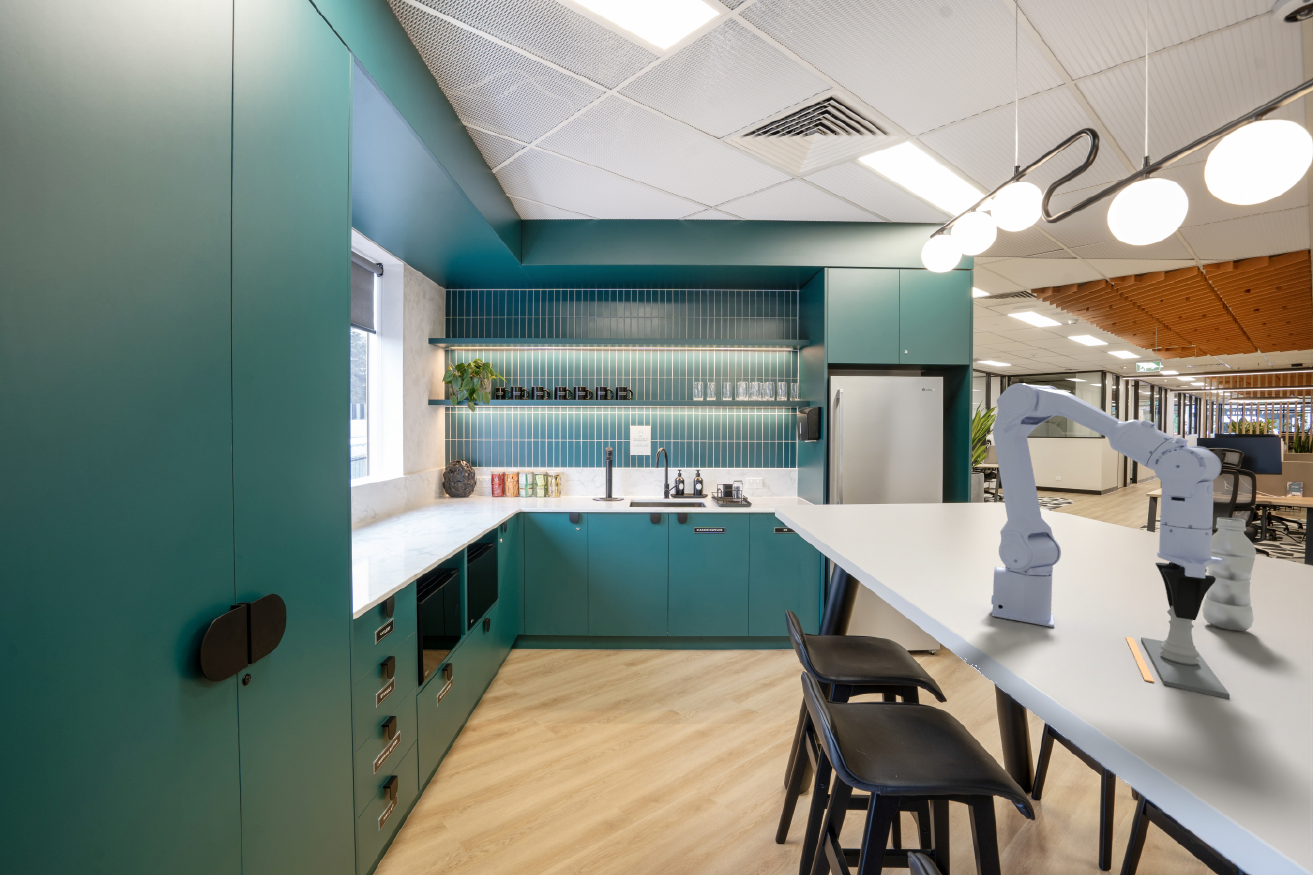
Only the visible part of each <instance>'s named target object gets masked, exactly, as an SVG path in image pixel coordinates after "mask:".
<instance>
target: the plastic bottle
mask: <svg viewBox="0 0 1313 875" xmlns="http://www.w3.org/2000/svg"><path fill="white" fill-rule="evenodd" d="M1215 528H1216V529H1217V531H1216V532H1215V533H1214V534H1212V550H1211V557H1218V558H1221V559H1222V560H1223V563H1222V564H1215V563H1214V564H1211V565H1209V566H1208V568H1207V572H1208V574H1207V575H1209V576H1214V577H1215V578H1216V580H1215V582H1214V584H1213V585H1212V586H1211V587H1210V588H1209V589H1208V591H1207V592H1206V594H1205V597H1206V598H1205V599H1204V602H1203V603H1202V604H1203V606H1202V616H1203V618H1204V620H1205V621H1206V622H1207V623H1208V624H1209V625H1211V626H1214V627H1217V628H1221V629H1224V630H1230V631H1242V632H1243V631H1248V630H1249V629H1251V628H1252V627H1253V623H1254V612H1253V611H1254V610H1253V607H1252V603H1251V602H1252V601H1251V590H1250V588H1251V582H1250V581H1251V580H1252V579H1251V578H1252V572H1253V567H1254V563H1255V560H1256V555H1257V550H1256V547H1255V544H1254V543H1252V541H1251V540H1250V538H1248V537H1247V535H1245V533H1244V532H1245V531H1247V528H1246V520H1245V519H1240V518H1232V517H1217V518H1216V525H1215Z"/></svg>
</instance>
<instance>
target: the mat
mask: <svg viewBox="0 0 1313 875" xmlns="http://www.w3.org/2000/svg"><path fill="white" fill-rule="evenodd" d="M1140 642H1141V644H1142V646H1143V647H1144V649H1145V651H1146V653H1147V655H1148V657H1149V659H1150V661H1151V663H1152V665H1153V667H1154V669H1155V670H1156V673H1157V675H1158V676H1159V678H1160V680H1161V681H1160V682H1162V684H1163V686H1166V687H1167V686H1168V687H1171V688H1177V689H1181V690H1186V691H1191V692H1197V693H1201V694H1206V695H1211V696H1216V697H1219V696H1220V697H1221V698H1225V699H1230V695H1231V694H1230V692H1229V691H1228V690H1227V688H1226V687H1225V686H1224V684H1223V683H1222V682H1221V681H1220V679H1219V678H1218V676H1216V673H1215V672H1214V671H1213V670H1212V669H1211V668H1210V666H1209V664H1208V663H1207V662H1206V661H1205V658H1204V657H1202V655H1201V654H1200V653H1199V657H1197V659H1198V660H1199V663H1198V664H1196V665H1184V664H1179V663H1175V662H1172V661H1169V660H1167V659H1165V658H1163V657H1162V656H1161V654H1160V651H1162V649H1161V645H1162V643H1164V642H1165V640H1164V641H1163V640H1159V639H1153V638H1149V637H1147V638H1146V637H1143V636H1142V637H1140ZM1220 697H1219V698H1220Z"/></svg>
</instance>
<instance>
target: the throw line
mask: <svg viewBox="0 0 1313 875" xmlns="http://www.w3.org/2000/svg"><path fill="white" fill-rule="evenodd" d="M1125 640H1126V641H1127V642H1126V643H1127V644H1128V647H1129V649H1130V651H1131V654H1132V656H1133V658H1134V660H1135V663H1136V665H1137V667H1138V669H1139V671H1140V673H1141V674H1140V675H1141V676H1142V678H1143V680H1144V681H1145V682H1148V683H1155V680H1154V678H1153V676H1152V673H1151V671H1150V670H1149V667H1148V666H1147V664H1146V662H1145V660H1144V658H1143V657H1144V656H1143V655H1142V653H1141V651H1140V648H1139V647H1138V645H1137V643H1136V640H1135V639H1134V638H1133V637H1128V636H1125Z"/></svg>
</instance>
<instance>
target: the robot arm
mask: <svg viewBox="0 0 1313 875" xmlns="http://www.w3.org/2000/svg"><path fill="white" fill-rule="evenodd" d="M996 404H997V413H996V416H995V420H994V423H993V426H992V436H993V442H994V449H995V454H996V458H997V459H996V460H997V464H998V465H997V466H998V471H999V472H998V473H999V476H1000V483H1001V489H1002V494H1003V499H1004V506H1005V512H1006V517H1007V521H1006V522H1005V524H1004V525H1003V526H1002V528H1001V530H1000V544H999V547H998V556H999V559H1000V561H1001V562H1002V563H1003V565H1004V566H1005V567H1003V566H1002V567H1001V566H995V567H994V568H993V569H994V570H993V571H994V572H993V588H992V589H993V590H992V591H993V592H992V595H991V602H990V603H991V605H992V614H991V615H992V617H996V618H999V619H1006V620H1012V621H1019V622H1022V623H1023V622H1024V623H1028V624H1034V625H1041V626H1045V627H1052V628H1053V627H1055V621H1054V620H1055V619H1054V613H1052V602H1053V601H1052V597H1053V571H1054V566H1055V565H1056V564H1058V562H1060V559H1061V556H1062V550H1061V547H1060V545H1059V543H1058V541H1057V540H1056V539H1055V537H1054V535H1053V531H1052V527H1051V526H1050V525H1049V524H1048V523H1047V522H1046V521H1045V520H1044V519H1043V517H1042V512H1041V508H1040V507H1041V506H1040V501H1039V496H1038V490H1037V485H1036V479H1035V474H1034V469H1033V463H1032V457H1031V452H1030V447H1029V442H1028V437H1029V435H1030V434H1031V433H1033V431H1034V430H1035V429H1036V428H1037V427H1038V426H1039V425H1042V424H1043V423H1046V422H1047V421H1049V420H1050V419H1052V418H1053V417H1055V416H1057V417H1058V416H1060V417H1064V418H1066V419H1068V420H1070V421H1072V422H1075V423H1076V424H1079V425H1081V426H1082V427H1085V428H1087V429H1089V430H1091V431H1093V432H1096V434H1097V433H1098V434H1099V435H1102V436H1104V437H1106V438H1107V439H1108V441H1109V445H1110V448H1111V449H1112V450H1113V451H1116V452H1117V453H1120V454H1122V455H1123V456H1125V457H1127V458H1128V459H1131V460H1133V461H1134V462H1136V463H1139V464H1140V465H1141V466H1144V467H1146V468H1148V469H1150V470H1153V471H1154V473H1155V476H1156V477H1157V478H1158V479H1159V480H1160V481H1161V494H1160V517H1159V518H1160V519H1159V520H1160V521H1159V550H1157V552H1156V553H1157V554H1156V556H1157V558H1159V559H1161V560H1164V561H1167V562H1155V566H1156V567H1157V569H1158V571H1159V573H1160V575H1161V578H1162V580H1163V583H1164V587H1165V592H1166V599H1167V602H1168V603H1167V604H1168V606H1169V609H1171V606H1173V609H1174V613H1175V615H1176V617H1177V618H1183V619H1189V620H1193V621H1196V620H1197V618H1198V615H1199V612H1200V609H1201V606H1202V604H1203V600H1204V598H1205V597H1206V594H1207V591H1208V589H1209V588H1210V587H1211V586H1212V585H1213V584H1214V582H1215V580H1216V578H1215V577H1214V576H1209V574H1206V573H1207V572H1208V568H1207V567H1208V566H1209V565H1211V564H1214V563H1215V564H1222V563H1223V560H1222V559H1221V558H1218V557H1211V550H1212V536H1213V520H1214V519H1213V518H1214V516H1213V515H1214V513H1213V512H1214V480H1216V479H1217V478H1218V477H1219V475H1220V473H1221V471H1222V462H1221V459H1220V458H1219V457H1218V455H1216V454H1215V453H1214V452H1212V451H1211V450H1209V449H1208V448H1207V447H1205V446H1200V445H1198V446H1197V445H1191V446H1188V443H1189V440H1188V439H1186V438H1183V437H1174V436H1172V435H1170V434H1168V433H1166V432H1163V431H1162V430H1159V429H1157V428H1155V426H1156V423H1155V422H1153V421H1150V420H1142V421H1141V420H1139V419H1131V420H1130V419H1129V420H1125V421H1122V420H1121V419H1119V418H1117V417H1115V416H1113V415H1112V414H1109V413H1107V412H1106V411H1104V410H1102V409H1101V408H1098V407H1096V406H1094V405H1093V404H1091V403H1089V402H1087V401H1085V400H1083V399H1082V398H1080V397H1078V396H1076V395H1074V394H1073V393H1070V392H1068V391H1066V390H1062V389H1061V390H1060V389H1058V388H1057V387H1055V386H1052V385H1036V384H1027V383H1023V382H1022V383H1021V382H1019V383H1018V382H1017V383H1014V384H1012V385H1011V384H1010V385H1009V386H1008V387H1007V388H1006V389H1005V390H1004V391H1003V392H1002V393H1001V394H1000V395H999V397H998V398H997V399H996Z"/></svg>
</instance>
